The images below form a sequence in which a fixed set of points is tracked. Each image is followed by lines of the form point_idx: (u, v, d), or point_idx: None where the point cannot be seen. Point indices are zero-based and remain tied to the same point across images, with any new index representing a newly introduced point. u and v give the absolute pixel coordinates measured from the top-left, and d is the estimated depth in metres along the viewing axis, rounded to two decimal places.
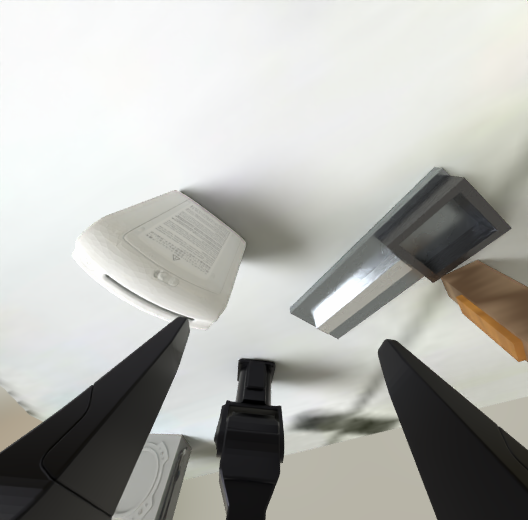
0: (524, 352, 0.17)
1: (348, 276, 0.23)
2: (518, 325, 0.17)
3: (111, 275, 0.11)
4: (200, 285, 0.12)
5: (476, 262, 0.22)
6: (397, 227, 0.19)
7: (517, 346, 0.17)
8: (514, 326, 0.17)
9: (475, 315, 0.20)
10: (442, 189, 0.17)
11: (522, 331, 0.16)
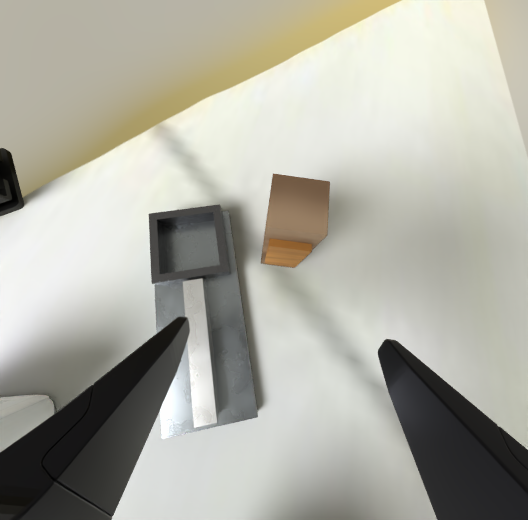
0: (295, 241, 0.14)
1: None
2: None
3: None
4: None
5: None
6: None
7: (277, 244, 0.14)
8: None
9: (272, 258, 0.18)
10: None
11: None
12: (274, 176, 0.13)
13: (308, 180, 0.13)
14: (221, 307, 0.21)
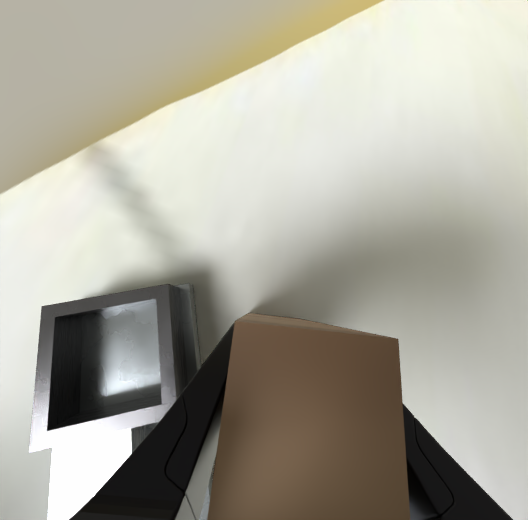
0: None
1: None
2: None
3: None
4: None
5: None
6: None
7: None
8: None
9: None
10: None
11: None
12: (238, 331, 0.05)
13: (337, 337, 0.05)
14: None
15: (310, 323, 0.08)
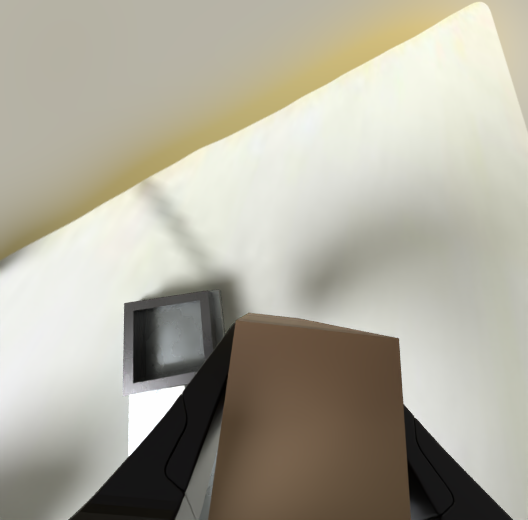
0: None
1: None
2: None
3: None
4: None
5: None
6: None
7: None
8: None
9: None
10: None
11: None
12: (239, 330, 0.05)
13: (338, 337, 0.05)
14: None
15: (311, 323, 0.08)
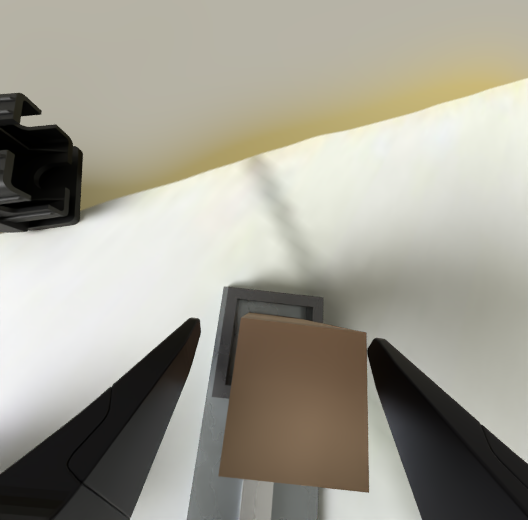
0: None
1: None
2: None
3: None
4: None
5: None
6: None
7: None
8: None
9: None
10: None
11: None
12: (243, 325, 0.06)
13: (319, 331, 0.06)
14: None
15: (303, 321, 0.10)
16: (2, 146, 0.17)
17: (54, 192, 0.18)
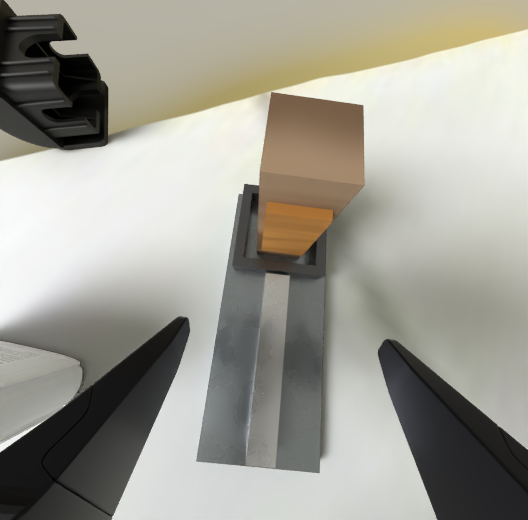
0: (307, 206, 0.09)
1: (239, 333, 0.16)
2: None
3: None
4: None
5: None
6: None
7: (279, 210, 0.09)
8: None
9: (272, 241, 0.13)
10: None
11: None
12: (273, 96, 0.08)
13: (328, 103, 0.08)
14: (299, 316, 0.17)
15: None
16: None
17: (87, 113, 0.20)
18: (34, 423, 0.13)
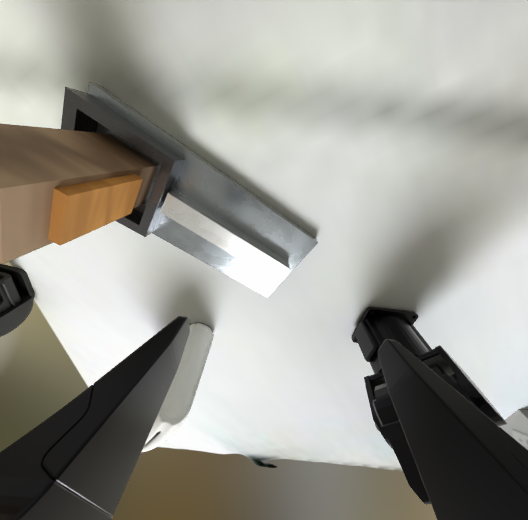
0: (51, 210, 0.09)
1: (208, 247, 0.20)
2: None
3: None
4: None
5: None
6: None
7: (57, 234, 0.10)
8: None
9: (112, 215, 0.13)
10: None
11: None
12: None
13: None
14: (213, 198, 0.18)
15: None
16: None
17: None
18: (209, 345, 0.26)
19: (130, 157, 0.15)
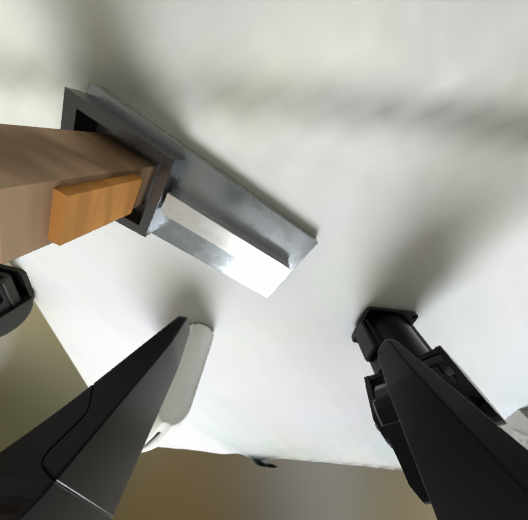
0: (51, 210, 0.09)
1: (208, 247, 0.20)
2: None
3: None
4: None
5: None
6: None
7: (56, 234, 0.10)
8: None
9: (112, 215, 0.13)
10: None
11: None
12: None
13: None
14: (213, 198, 0.18)
15: None
16: None
17: None
18: (209, 345, 0.26)
19: (130, 157, 0.15)
